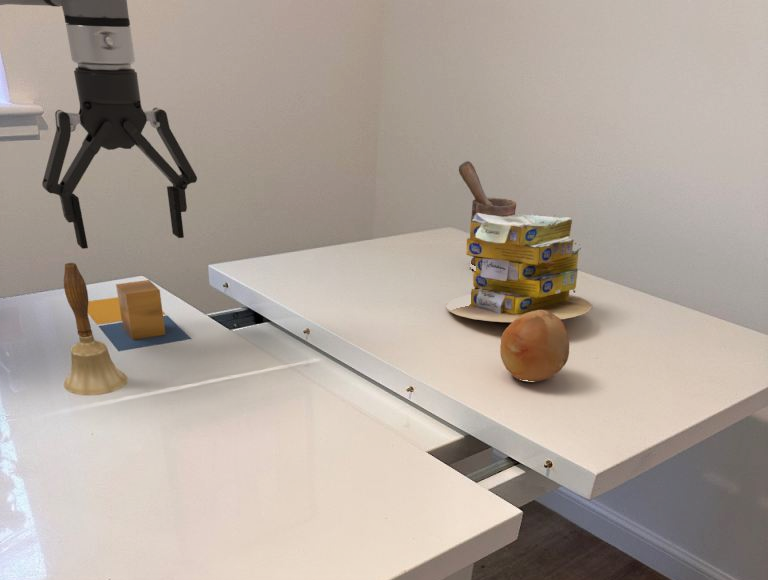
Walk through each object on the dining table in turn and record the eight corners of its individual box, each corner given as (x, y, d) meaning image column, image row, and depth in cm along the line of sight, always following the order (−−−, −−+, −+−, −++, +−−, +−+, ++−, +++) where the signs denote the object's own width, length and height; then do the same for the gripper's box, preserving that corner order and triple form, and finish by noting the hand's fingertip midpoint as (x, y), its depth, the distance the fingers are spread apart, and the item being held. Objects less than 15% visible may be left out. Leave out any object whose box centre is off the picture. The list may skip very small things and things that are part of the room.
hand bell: (66, 402, 91) (37, 277, 82) (60, 376, 98) (33, 257, 88) (133, 393, 94) (113, 271, 85) (124, 368, 101) (104, 252, 91)
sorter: (79, 305, 120) (79, 302, 119) (145, 296, 125) (144, 293, 124) (119, 354, 104) (118, 351, 104) (191, 341, 110) (191, 338, 109)
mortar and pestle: (461, 277, 143) (473, 167, 131) (445, 264, 149) (455, 158, 138) (513, 274, 146) (530, 167, 134) (495, 261, 153) (509, 158, 141)
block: (123, 329, 111) (115, 284, 107) (155, 324, 113) (148, 279, 109) (133, 340, 108) (125, 294, 103) (165, 335, 110) (159, 289, 106)
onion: (503, 359, 110) (513, 295, 104) (568, 372, 107) (582, 307, 101) (487, 384, 102) (497, 316, 97) (556, 398, 100) (571, 329, 94)
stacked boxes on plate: (419, 301, 130) (427, 203, 120) (526, 285, 140) (541, 194, 131) (503, 352, 113) (520, 242, 103) (617, 329, 123) (642, 228, 114)
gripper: (2, 68, 82) (45, 258, 94) (210, 69, 93) (224, 237, 106) (-9, 63, 87) (33, 243, 99) (189, 64, 98) (205, 225, 111)
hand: (132, 241), depth 102 cm, fingers open, 13 cm apart
